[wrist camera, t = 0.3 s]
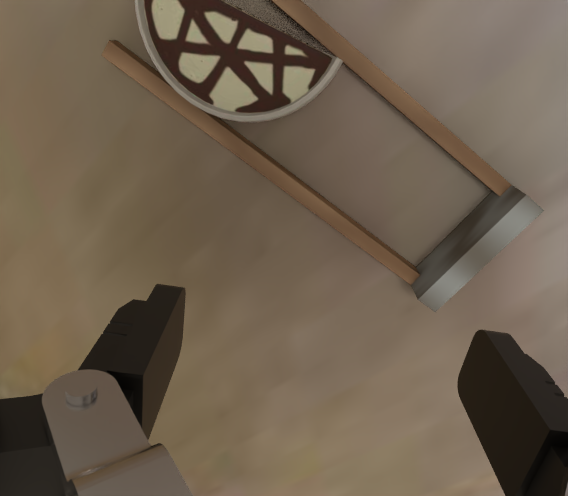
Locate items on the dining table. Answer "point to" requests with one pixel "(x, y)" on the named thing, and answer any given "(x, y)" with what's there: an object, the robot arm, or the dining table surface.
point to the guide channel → (424, 278)
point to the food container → (231, 59)
